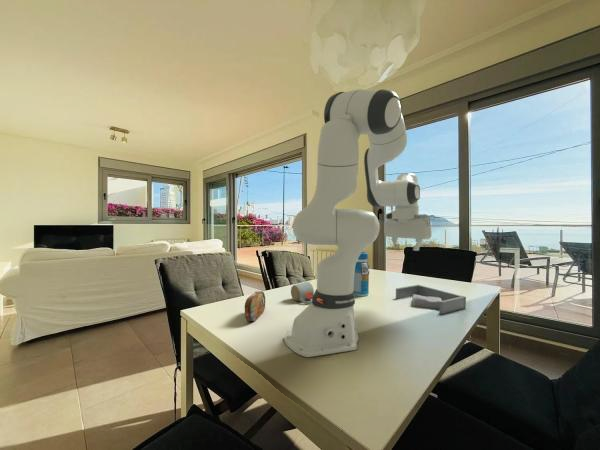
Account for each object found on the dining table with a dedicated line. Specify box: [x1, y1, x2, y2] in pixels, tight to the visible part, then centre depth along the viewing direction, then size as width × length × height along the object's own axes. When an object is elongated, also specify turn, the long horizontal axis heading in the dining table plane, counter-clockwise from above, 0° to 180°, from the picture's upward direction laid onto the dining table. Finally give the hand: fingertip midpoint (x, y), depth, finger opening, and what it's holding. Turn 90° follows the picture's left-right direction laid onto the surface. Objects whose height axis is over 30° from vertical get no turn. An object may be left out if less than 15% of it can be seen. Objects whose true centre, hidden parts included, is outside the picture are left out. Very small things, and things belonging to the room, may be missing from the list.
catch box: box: [395, 284, 467, 315], centre depth 114 cm, size 15×22×4 cm
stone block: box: [411, 294, 442, 310], centre depth 112 cm, size 12×5×10 cm
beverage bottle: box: [353, 251, 370, 297], centre depth 127 cm, size 8×8×20 cm
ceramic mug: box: [290, 281, 315, 305], centre depth 116 cm, size 11×8×8 cm
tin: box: [244, 291, 266, 322], centre depth 97 cm, size 15×3×8 cm, turn 168°
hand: (406, 249), depth 106 cm, fingers open, 8 cm apart
